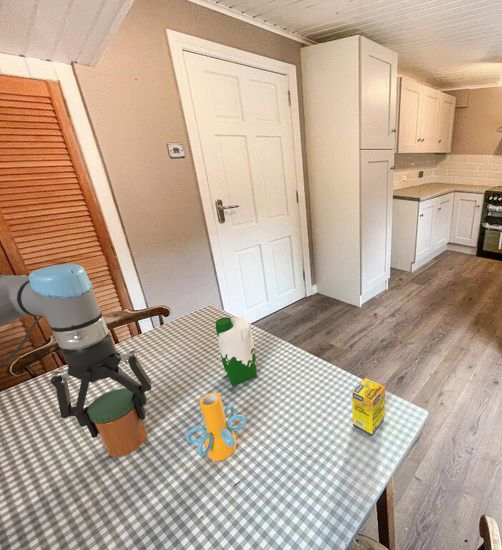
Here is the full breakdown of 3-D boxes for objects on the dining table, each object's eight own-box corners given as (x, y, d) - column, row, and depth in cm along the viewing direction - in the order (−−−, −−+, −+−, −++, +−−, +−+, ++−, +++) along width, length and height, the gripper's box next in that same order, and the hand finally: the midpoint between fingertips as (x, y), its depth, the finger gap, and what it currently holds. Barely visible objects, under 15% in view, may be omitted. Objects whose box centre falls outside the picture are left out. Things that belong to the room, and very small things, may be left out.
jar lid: (141, 406, 68) (138, 399, 67) (95, 430, 62) (91, 422, 61) (130, 390, 73) (127, 383, 72) (86, 410, 67) (83, 403, 66)
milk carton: (223, 373, 94) (211, 316, 86) (253, 362, 98) (244, 308, 91) (229, 390, 87) (216, 330, 79) (261, 377, 92) (252, 320, 84)
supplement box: (372, 437, 72) (372, 402, 68) (352, 425, 76) (351, 391, 71) (384, 420, 77) (385, 386, 73) (365, 410, 80) (365, 377, 76)
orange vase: (190, 481, 63) (173, 428, 57) (194, 440, 72) (180, 391, 66) (252, 459, 67) (242, 408, 62) (249, 423, 76) (239, 376, 71)
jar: (106, 441, 72) (88, 403, 67) (144, 423, 76) (130, 386, 72) (108, 464, 66) (90, 424, 62) (149, 443, 71) (135, 405, 67)
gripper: (3, 369, 52) (54, 460, 61) (147, 333, 63) (173, 415, 71) (18, 347, 58) (63, 433, 67) (148, 318, 69) (172, 395, 77)
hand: (120, 424), depth 69 cm, fingers closed on jar lid, 8 cm apart
